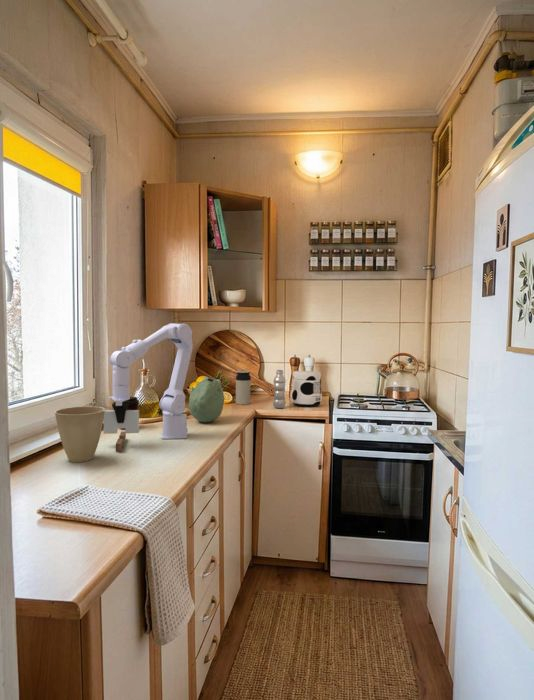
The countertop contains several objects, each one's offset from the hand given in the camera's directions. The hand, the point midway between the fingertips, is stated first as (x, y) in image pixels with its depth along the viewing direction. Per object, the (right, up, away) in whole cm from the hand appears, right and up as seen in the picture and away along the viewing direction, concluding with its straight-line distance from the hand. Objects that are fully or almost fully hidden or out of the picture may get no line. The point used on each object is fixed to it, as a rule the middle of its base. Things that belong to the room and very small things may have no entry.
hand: (120, 422), depth 169 cm
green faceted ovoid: (+25, -7, +42) cm, 50 cm away
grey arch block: (0, -4, 0) cm, 4 cm away
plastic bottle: (+59, -5, +79) cm, 99 cm away
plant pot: (-8, -10, -16) cm, 21 cm away
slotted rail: (0, -8, +1) cm, 8 cm away
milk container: (+74, -5, +91) cm, 117 cm away
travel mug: (+39, -4, +91) cm, 99 cm away
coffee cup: (-5, -7, +27) cm, 28 cm away
